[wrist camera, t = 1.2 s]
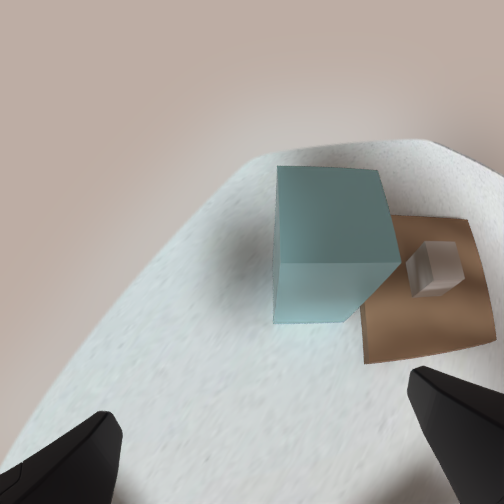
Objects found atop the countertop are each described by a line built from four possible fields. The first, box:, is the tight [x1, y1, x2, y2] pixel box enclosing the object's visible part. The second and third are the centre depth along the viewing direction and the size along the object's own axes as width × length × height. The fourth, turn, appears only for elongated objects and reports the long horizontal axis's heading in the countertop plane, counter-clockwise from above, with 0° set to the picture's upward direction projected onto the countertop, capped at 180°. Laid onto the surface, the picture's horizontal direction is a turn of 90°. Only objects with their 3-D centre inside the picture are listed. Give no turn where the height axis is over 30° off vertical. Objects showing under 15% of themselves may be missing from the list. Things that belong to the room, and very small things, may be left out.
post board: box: [360, 215, 497, 364], centre depth 21 cm, size 13×14×5 cm
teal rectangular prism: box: [273, 166, 402, 324], centre depth 18 cm, size 6×6×11 cm
